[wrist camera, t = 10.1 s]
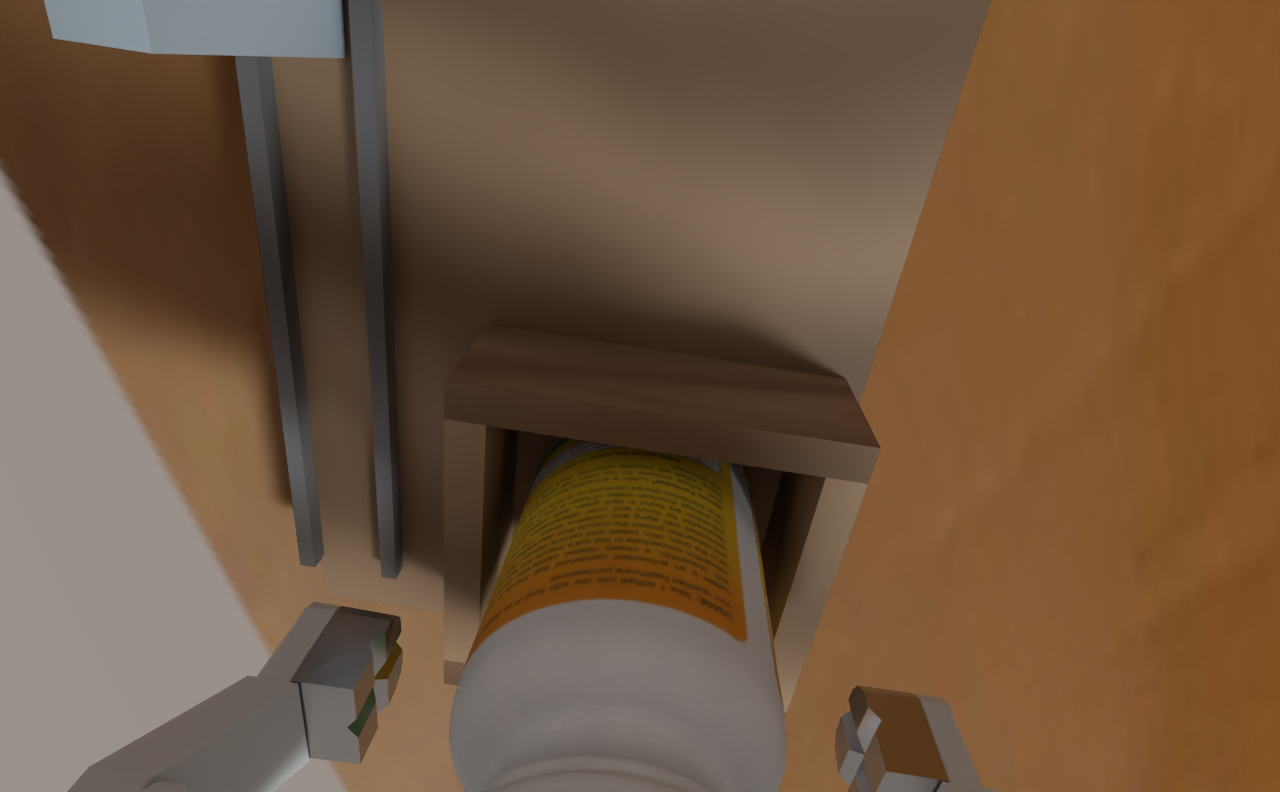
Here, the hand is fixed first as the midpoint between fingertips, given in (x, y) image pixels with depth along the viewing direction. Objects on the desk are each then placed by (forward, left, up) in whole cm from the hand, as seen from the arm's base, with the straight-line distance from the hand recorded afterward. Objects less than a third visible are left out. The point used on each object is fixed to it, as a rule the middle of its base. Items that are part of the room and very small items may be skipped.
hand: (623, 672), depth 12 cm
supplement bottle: (0, 0, -6) cm, 6 cm away
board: (-4, -2, -7) cm, 8 cm away
